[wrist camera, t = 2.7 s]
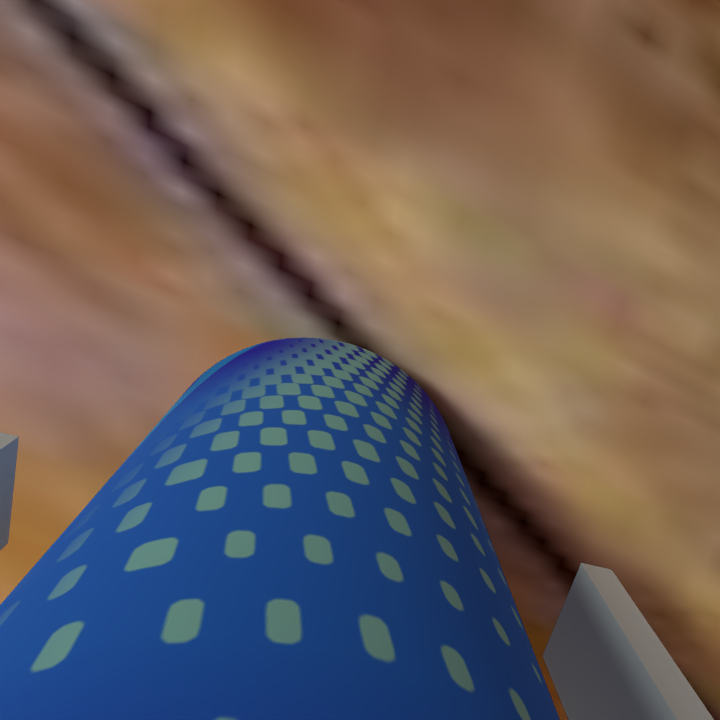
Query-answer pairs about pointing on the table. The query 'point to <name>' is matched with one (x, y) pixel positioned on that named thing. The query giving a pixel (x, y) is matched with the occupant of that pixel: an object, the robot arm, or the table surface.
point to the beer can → (277, 564)
